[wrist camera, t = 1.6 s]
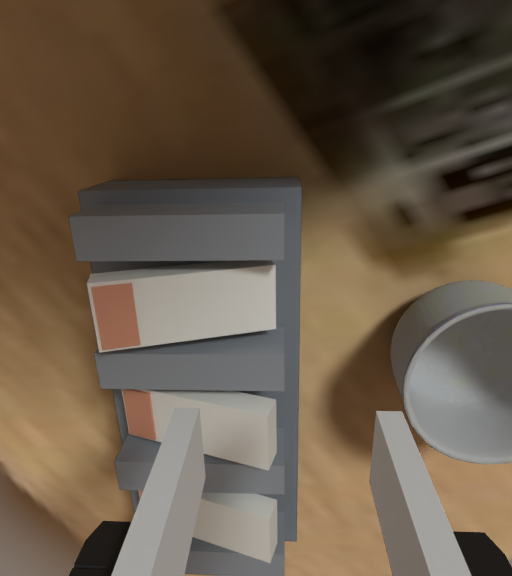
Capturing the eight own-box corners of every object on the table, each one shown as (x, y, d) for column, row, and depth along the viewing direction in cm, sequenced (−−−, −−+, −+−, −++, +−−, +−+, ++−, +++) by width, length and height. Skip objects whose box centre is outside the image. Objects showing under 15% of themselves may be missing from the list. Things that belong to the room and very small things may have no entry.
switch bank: (107, 180, 29) (42, 201, 21) (298, 177, 28) (305, 196, 20) (153, 486, 39) (120, 578, 31) (294, 491, 38) (298, 586, 30)
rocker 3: (149, 463, 31) (135, 480, 30) (277, 499, 28) (268, 521, 26) (155, 503, 33) (142, 521, 31) (277, 542, 29) (269, 565, 28)
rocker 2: (135, 371, 28) (119, 385, 27) (276, 399, 25) (266, 417, 23) (142, 419, 30) (127, 435, 28) (276, 452, 26) (267, 472, 25)
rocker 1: (90, 273, 23) (86, 284, 21) (267, 256, 25) (276, 265, 23) (102, 339, 24) (98, 353, 22) (269, 317, 26) (276, 330, 25)
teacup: (398, 406, 34) (430, 484, 27) (358, 292, 31) (383, 344, 23) (578, 355, 32) (670, 425, 24) (557, 224, 28) (656, 259, 21)
